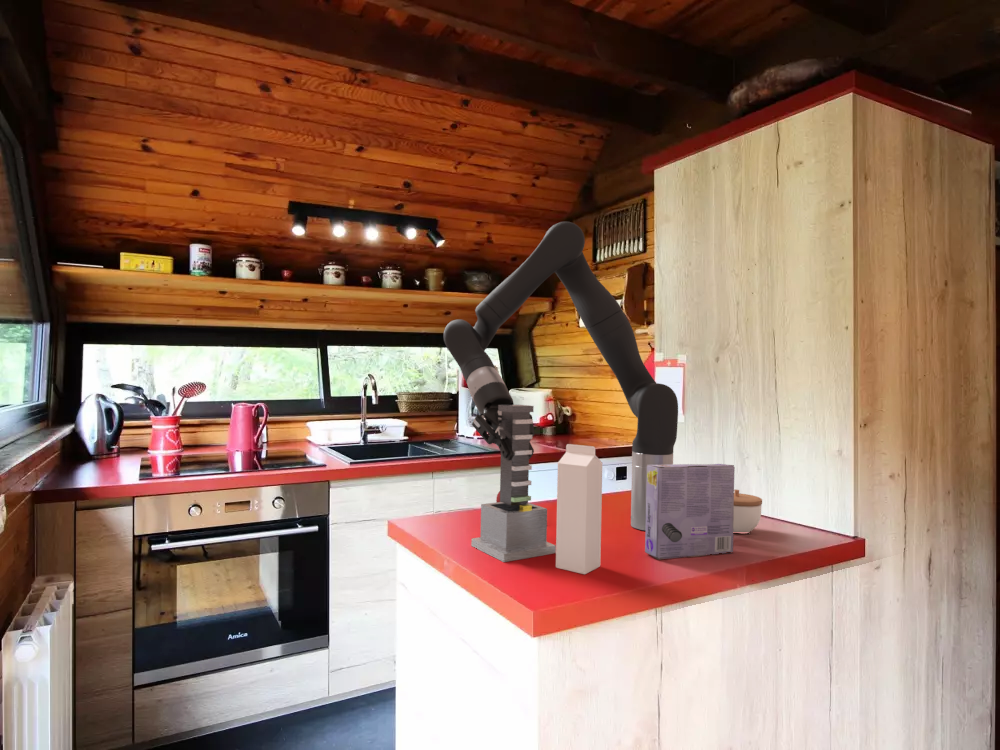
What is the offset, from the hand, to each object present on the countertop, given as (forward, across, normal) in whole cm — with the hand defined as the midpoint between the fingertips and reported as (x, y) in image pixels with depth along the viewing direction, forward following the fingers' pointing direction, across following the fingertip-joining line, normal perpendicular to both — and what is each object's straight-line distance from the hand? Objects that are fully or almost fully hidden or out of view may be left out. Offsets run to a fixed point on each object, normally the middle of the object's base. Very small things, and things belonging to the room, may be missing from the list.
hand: (520, 456), depth 118 cm
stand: (+12, 0, +14) cm, 19 cm away
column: (+5, 0, +8) cm, 9 cm away
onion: (-6, +15, +32) cm, 36 cm away
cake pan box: (+25, +30, +1) cm, 39 cm away
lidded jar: (+20, +53, +6) cm, 57 cm away
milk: (+22, +4, +4) cm, 23 cm away
